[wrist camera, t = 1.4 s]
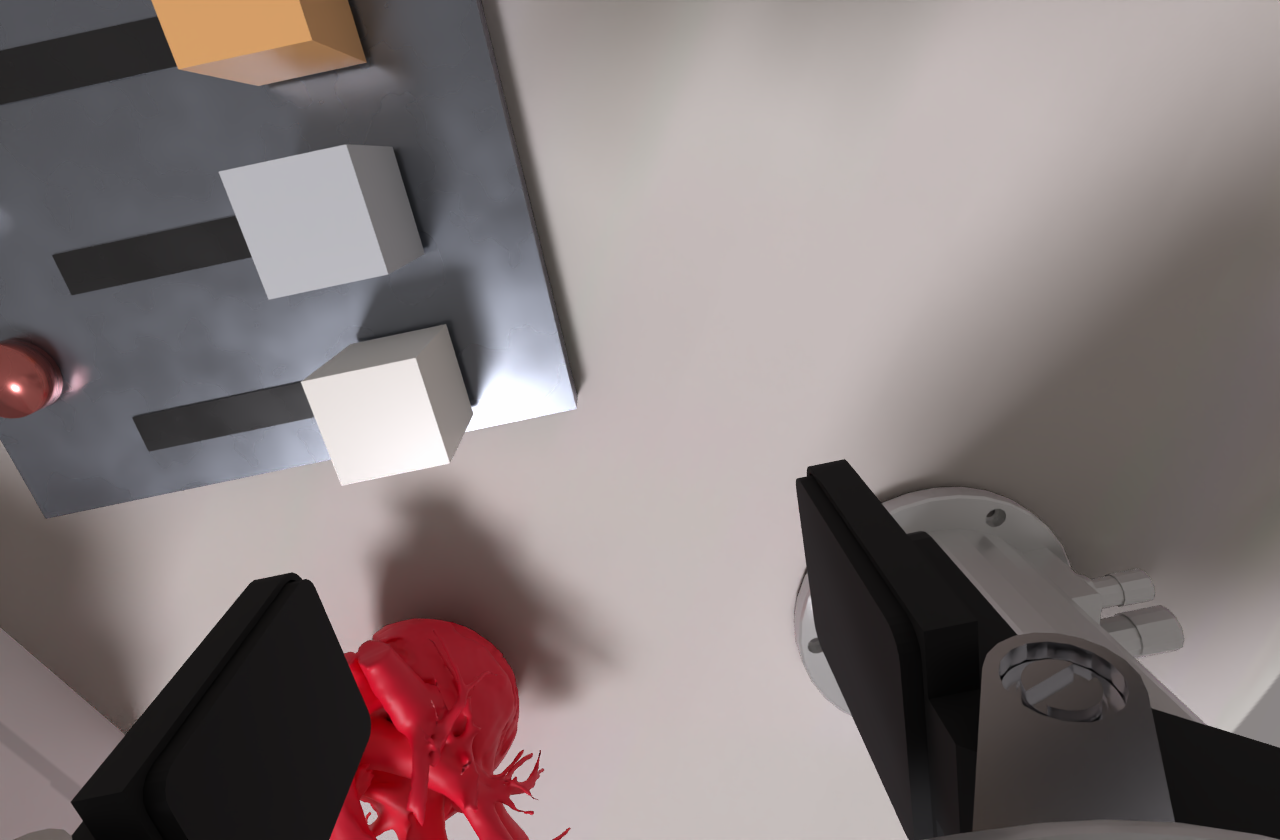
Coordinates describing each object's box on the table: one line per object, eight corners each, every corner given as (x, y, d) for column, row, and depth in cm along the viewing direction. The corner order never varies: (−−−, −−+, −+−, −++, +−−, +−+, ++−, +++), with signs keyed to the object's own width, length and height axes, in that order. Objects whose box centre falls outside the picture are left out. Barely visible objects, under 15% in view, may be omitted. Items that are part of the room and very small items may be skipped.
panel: (456, -103, 22) (439, -133, 20) (577, 396, 28) (575, 417, 26) (-182, 38, 23) (-273, 24, 20) (72, 500, 29) (26, 531, 26)
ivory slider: (445, 324, 25) (415, 357, 21) (473, 414, 26) (449, 463, 22) (350, 344, 25) (300, 381, 21) (382, 433, 26) (341, 485, 22)
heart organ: (503, 523, 30) (448, 741, 19) (598, 725, 34) (598, 1002, 23) (293, 593, 31) (118, 844, 20) (411, 783, 35) (322, 1081, 24)
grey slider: (392, 146, 23) (345, 144, 19) (425, 254, 24) (388, 274, 20) (288, 169, 23) (218, 171, 19) (325, 274, 24) (268, 299, 20)
